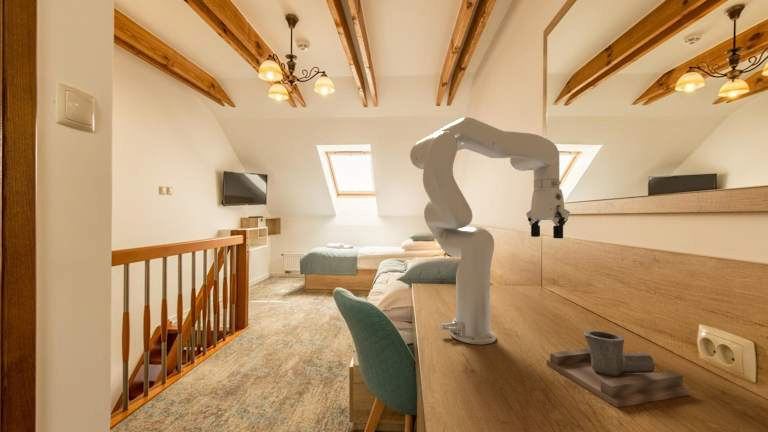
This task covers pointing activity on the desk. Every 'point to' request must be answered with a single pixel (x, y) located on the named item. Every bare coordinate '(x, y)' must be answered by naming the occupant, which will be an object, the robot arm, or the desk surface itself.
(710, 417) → the desk surface
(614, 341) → the pipe
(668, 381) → the cradle
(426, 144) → the robot arm
